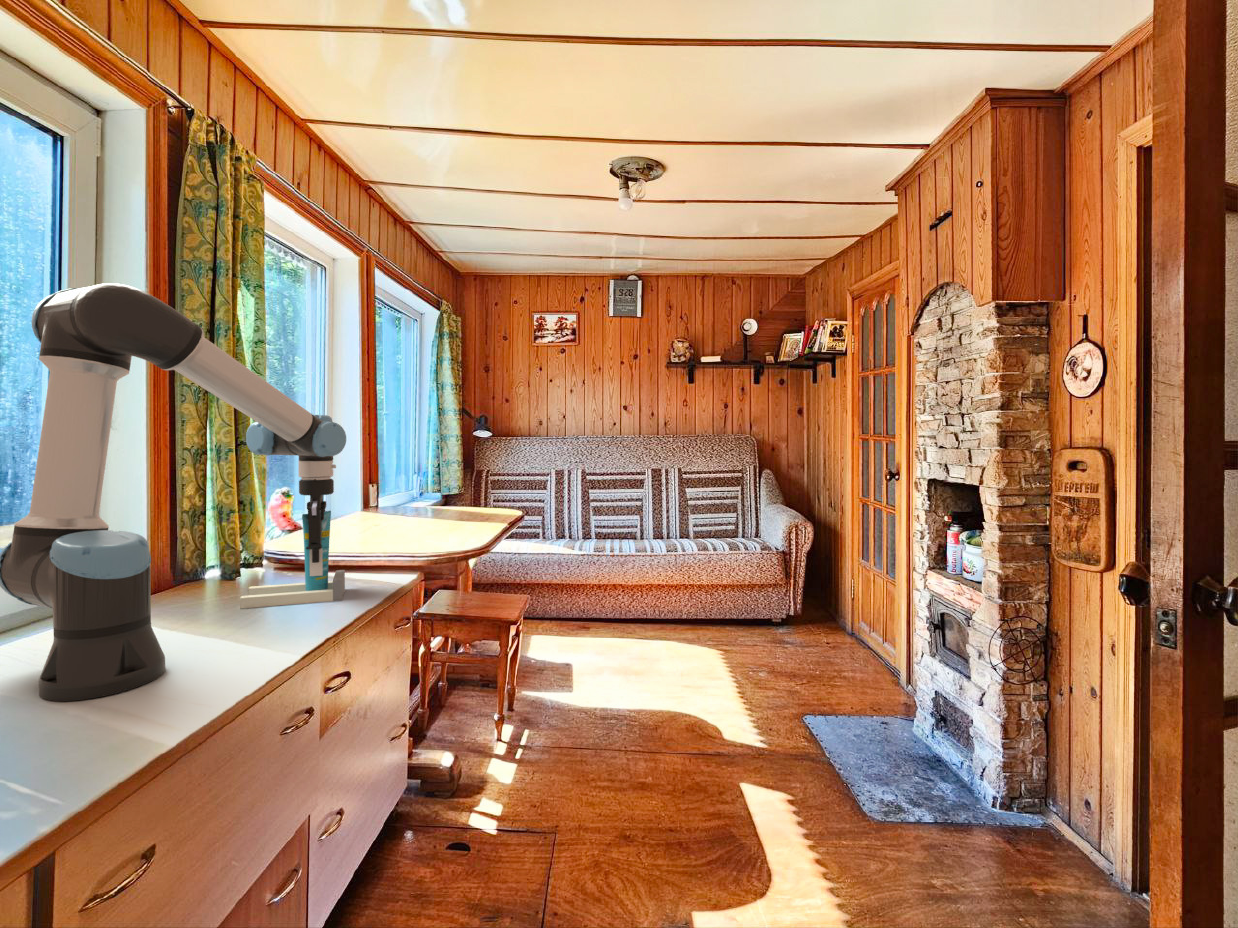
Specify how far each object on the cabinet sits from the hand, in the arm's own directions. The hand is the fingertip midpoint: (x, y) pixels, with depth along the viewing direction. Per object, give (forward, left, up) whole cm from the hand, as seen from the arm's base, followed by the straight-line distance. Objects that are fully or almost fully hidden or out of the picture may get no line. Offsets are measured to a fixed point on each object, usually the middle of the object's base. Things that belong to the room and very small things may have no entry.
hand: (317, 572), depth 144 cm
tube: (0, 0, -4) cm, 4 cm away
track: (0, +5, -6) cm, 8 cm away
